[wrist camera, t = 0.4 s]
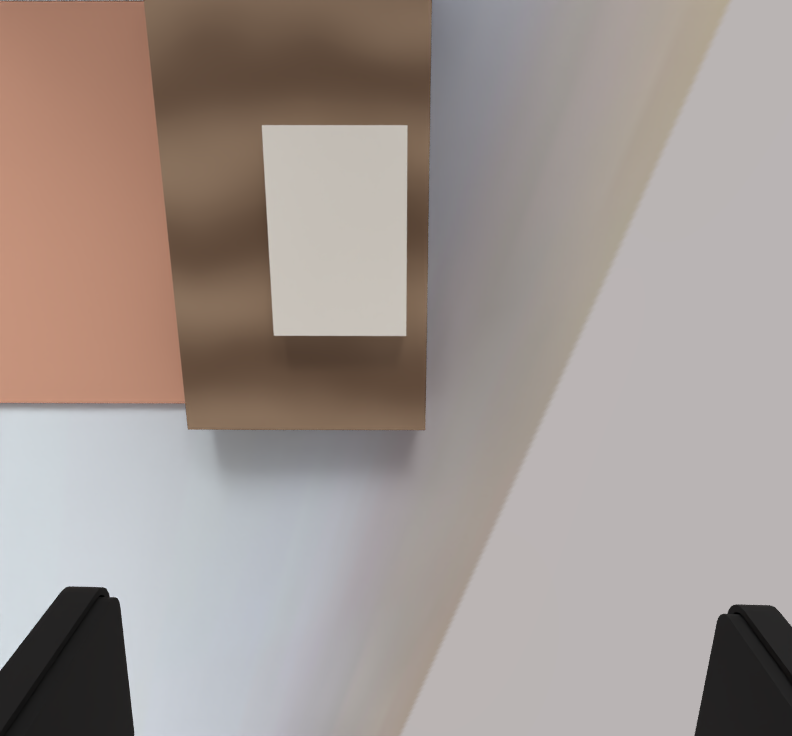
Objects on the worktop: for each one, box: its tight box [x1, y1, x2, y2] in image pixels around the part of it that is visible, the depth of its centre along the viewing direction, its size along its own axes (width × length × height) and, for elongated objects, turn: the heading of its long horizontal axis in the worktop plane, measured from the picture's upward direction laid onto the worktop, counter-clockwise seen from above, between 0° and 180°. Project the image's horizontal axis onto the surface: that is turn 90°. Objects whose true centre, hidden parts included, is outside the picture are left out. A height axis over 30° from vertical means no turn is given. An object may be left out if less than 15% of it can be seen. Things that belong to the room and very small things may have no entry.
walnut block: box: [144, 0, 432, 430], centre depth 34 cm, size 20×12×4 cm, turn 0°
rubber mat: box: [0, 1, 185, 403], centre depth 36 cm, size 20×12×1 cm, turn 0°
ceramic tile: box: [262, 125, 407, 336], centre depth 31 cm, size 9×6×2 cm, turn 0°
